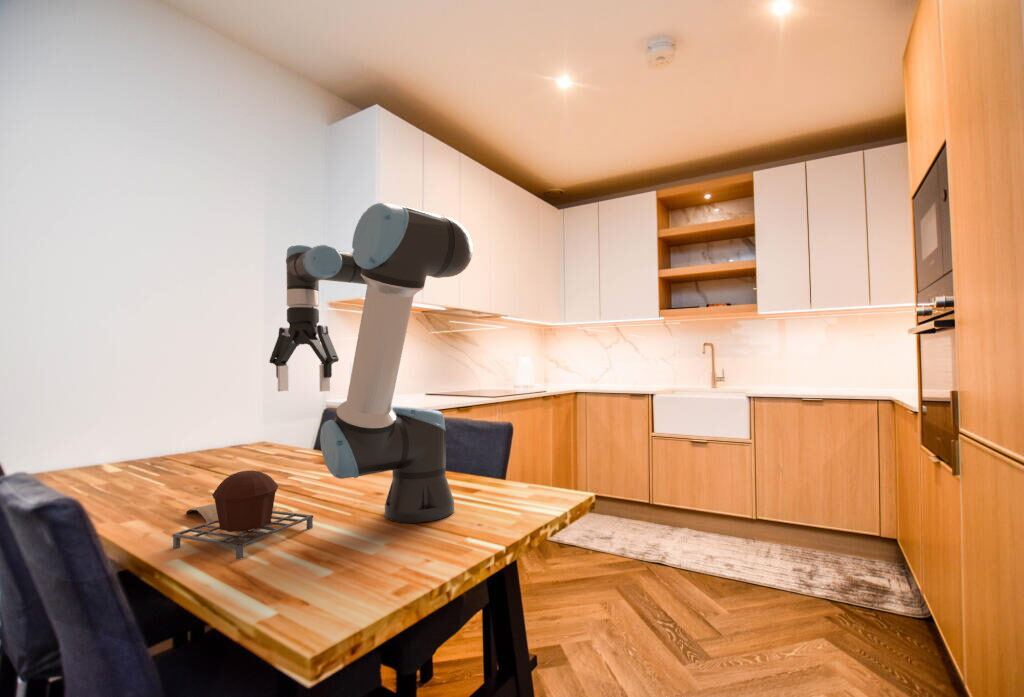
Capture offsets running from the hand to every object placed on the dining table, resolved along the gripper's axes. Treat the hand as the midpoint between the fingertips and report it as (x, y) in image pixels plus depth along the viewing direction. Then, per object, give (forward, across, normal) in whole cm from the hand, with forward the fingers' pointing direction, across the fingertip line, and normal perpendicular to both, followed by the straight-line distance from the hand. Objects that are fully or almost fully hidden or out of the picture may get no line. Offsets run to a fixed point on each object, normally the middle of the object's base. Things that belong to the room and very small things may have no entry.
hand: (303, 391), depth 123 cm
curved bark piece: (+28, +9, +16) cm, 33 cm away
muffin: (+24, -11, +26) cm, 37 cm away
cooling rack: (+27, -11, +26) cm, 39 cm away
